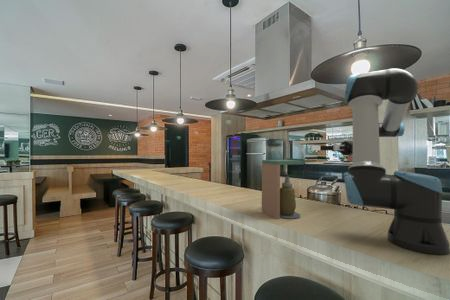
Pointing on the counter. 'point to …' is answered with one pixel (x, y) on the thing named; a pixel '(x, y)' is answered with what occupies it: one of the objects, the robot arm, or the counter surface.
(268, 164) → the green-topped pedestal
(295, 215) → the coaster
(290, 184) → the squeeze bottle
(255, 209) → the counter surface
